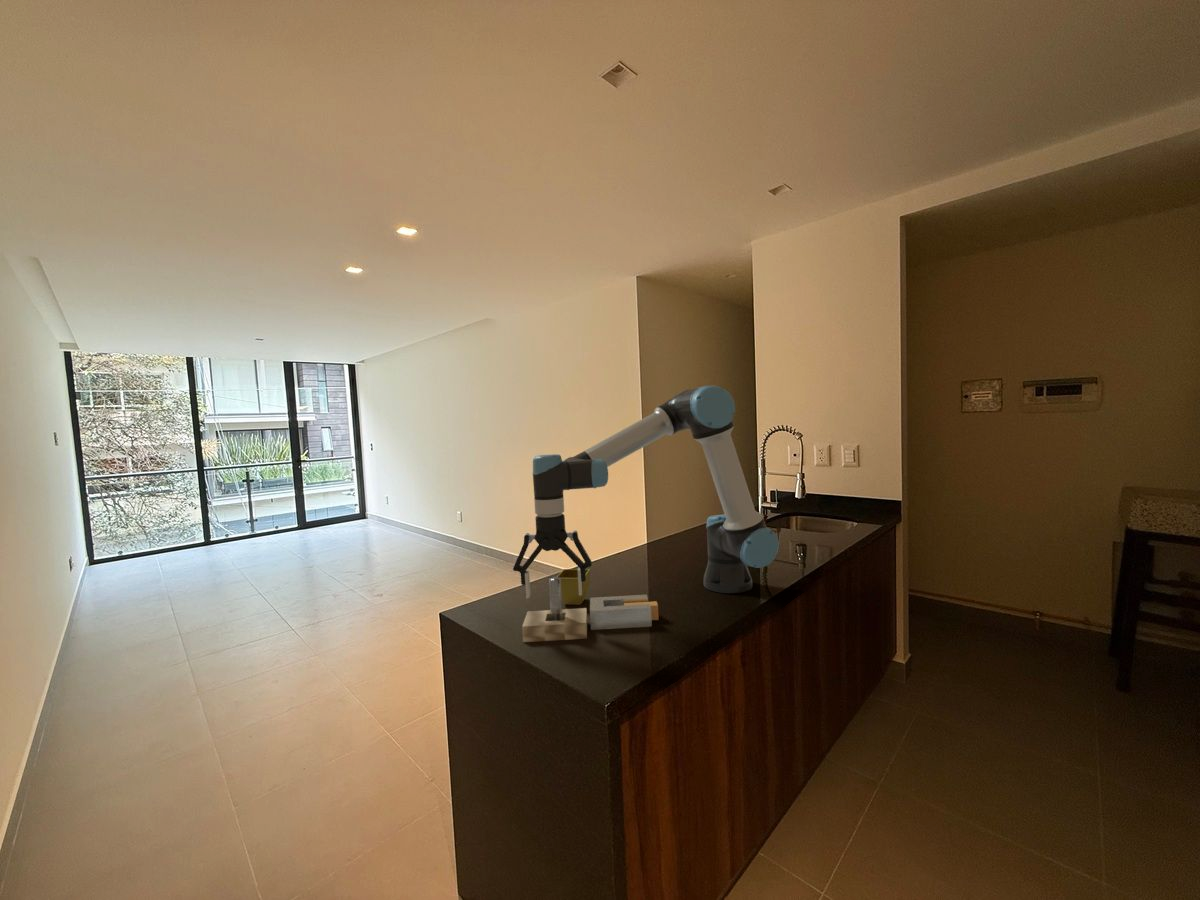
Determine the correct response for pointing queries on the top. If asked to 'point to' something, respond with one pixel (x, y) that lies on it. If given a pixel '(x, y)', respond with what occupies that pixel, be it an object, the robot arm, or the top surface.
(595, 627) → the socket block
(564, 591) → the flower pot
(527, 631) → the rack block
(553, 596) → the drill peg
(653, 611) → the drift key
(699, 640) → the top surface
